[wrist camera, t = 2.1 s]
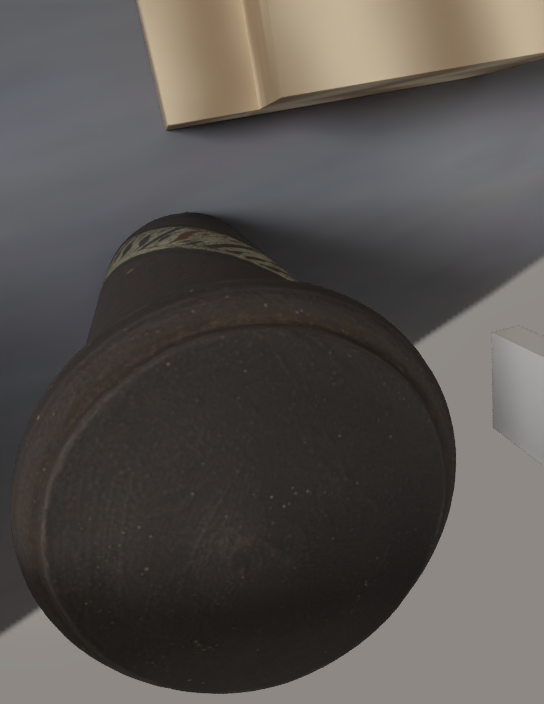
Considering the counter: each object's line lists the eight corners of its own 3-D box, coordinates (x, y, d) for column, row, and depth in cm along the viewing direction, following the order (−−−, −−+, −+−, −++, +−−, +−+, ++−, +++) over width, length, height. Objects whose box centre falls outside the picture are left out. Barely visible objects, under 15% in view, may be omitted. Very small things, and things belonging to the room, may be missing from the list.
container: (281, 229, 27) (564, 350, 9) (243, 383, 30) (403, 731, 11) (113, 188, 25) (21, 239, 6) (86, 360, 27) (-35, 760, 9)
